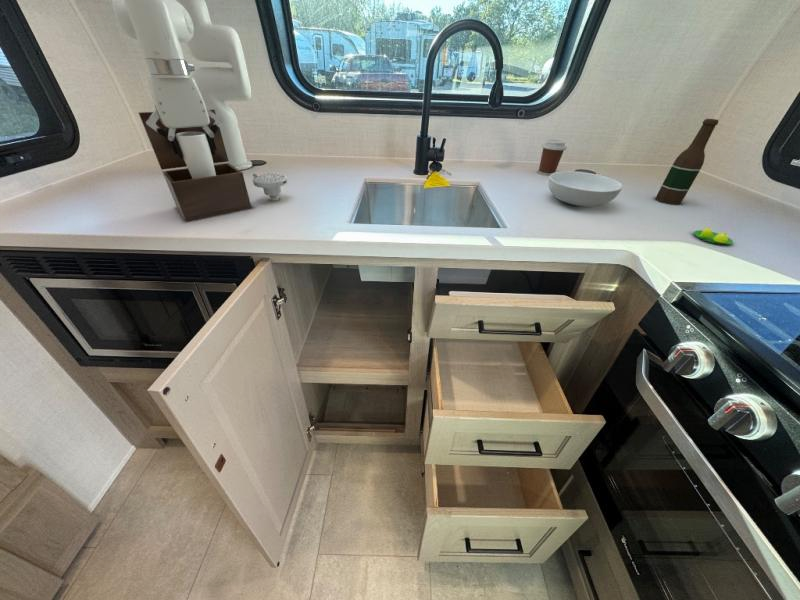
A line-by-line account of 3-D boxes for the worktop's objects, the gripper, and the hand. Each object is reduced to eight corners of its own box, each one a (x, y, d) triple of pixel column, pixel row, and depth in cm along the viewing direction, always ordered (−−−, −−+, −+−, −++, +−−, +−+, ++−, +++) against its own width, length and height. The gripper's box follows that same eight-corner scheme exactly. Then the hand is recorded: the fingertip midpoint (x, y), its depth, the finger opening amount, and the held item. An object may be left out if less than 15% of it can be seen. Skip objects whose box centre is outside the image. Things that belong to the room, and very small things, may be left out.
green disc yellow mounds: (698, 242, 80) (705, 232, 78) (688, 230, 86) (694, 220, 84) (737, 248, 78) (745, 238, 76) (723, 235, 84) (730, 225, 82)
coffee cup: (562, 174, 129) (573, 142, 122) (549, 177, 125) (559, 144, 118) (543, 169, 135) (552, 138, 128) (530, 171, 131) (538, 139, 124)
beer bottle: (673, 206, 101) (721, 121, 87) (649, 198, 107) (690, 117, 93) (686, 203, 104) (734, 120, 90) (662, 195, 110) (703, 117, 96)
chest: (251, 208, 90) (242, 172, 84) (186, 221, 81) (170, 182, 75) (238, 196, 97) (228, 162, 91) (176, 207, 88) (162, 171, 82)
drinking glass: (229, 193, 88) (211, 133, 79) (208, 200, 83) (186, 137, 74) (211, 189, 90) (193, 130, 81) (190, 195, 85) (167, 134, 76)
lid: (214, 109, 83) (209, 106, 86) (138, 112, 74) (135, 109, 77) (228, 161, 91) (223, 157, 94) (161, 169, 82) (158, 164, 85)
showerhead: (261, 169, 96) (291, 172, 94) (266, 193, 100) (295, 196, 99) (243, 177, 88) (275, 180, 87) (249, 203, 93) (280, 206, 91)
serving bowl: (529, 194, 106) (535, 173, 102) (574, 188, 113) (582, 168, 109) (579, 217, 91) (588, 193, 87) (628, 209, 98) (638, 186, 94)
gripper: (206, 70, 77) (228, 149, 87) (119, 68, 68) (155, 156, 78) (215, 71, 72) (237, 154, 83) (122, 69, 63) (160, 163, 74)
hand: (197, 155), depth 81 cm, fingers closed on drinking glass, 6 cm apart
